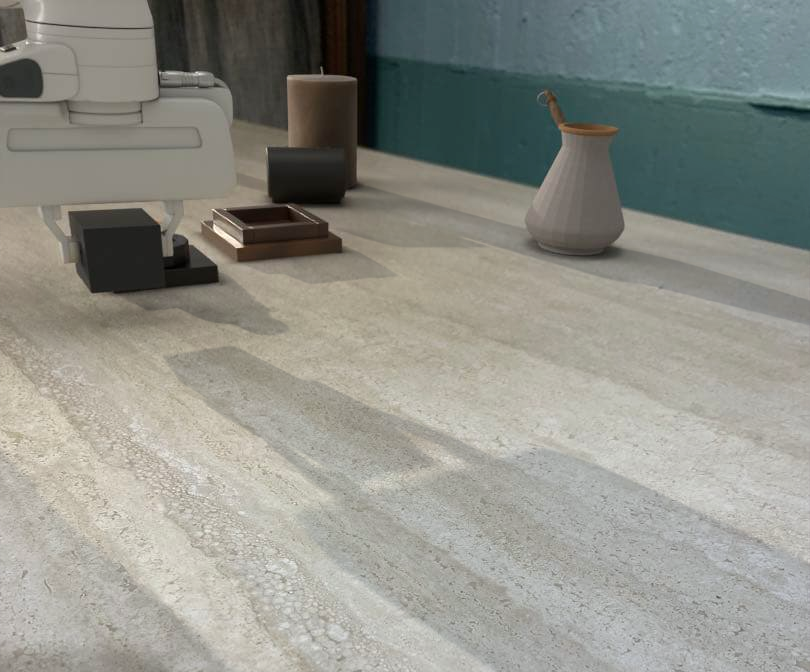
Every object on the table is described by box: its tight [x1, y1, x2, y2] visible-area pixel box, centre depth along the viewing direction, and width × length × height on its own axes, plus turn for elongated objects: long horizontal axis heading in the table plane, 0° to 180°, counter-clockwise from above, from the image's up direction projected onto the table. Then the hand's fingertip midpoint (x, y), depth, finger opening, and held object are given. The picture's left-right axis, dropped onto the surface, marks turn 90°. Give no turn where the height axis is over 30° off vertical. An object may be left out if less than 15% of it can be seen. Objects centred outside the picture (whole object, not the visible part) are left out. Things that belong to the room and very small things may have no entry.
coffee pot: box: [524, 88, 626, 256], centre depth 101 cm, size 21×12×15 cm, turn 10°
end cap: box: [265, 145, 347, 204], centre depth 113 cm, size 10×7×7 cm
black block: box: [67, 207, 166, 294], centre depth 71 cm, size 6×6×5 cm
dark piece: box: [112, 233, 220, 294], centre depth 84 cm, size 10×8×4 cm
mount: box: [200, 202, 343, 263], centre depth 96 cm, size 12×12×3 cm
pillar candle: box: [286, 66, 358, 191], centre depth 121 cm, size 10×10×15 cm
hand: (117, 258), depth 72 cm, fingers closed on black block, 6 cm apart
